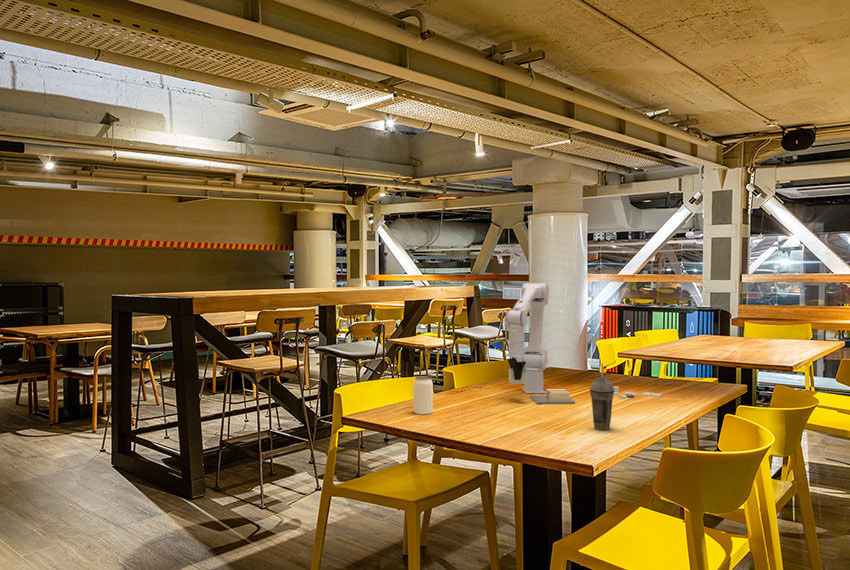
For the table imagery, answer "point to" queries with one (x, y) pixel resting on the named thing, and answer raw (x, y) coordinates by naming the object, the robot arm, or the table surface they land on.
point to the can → (423, 395)
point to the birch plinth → (557, 394)
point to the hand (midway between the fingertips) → (516, 378)
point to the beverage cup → (602, 402)
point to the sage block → (512, 380)
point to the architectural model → (633, 394)
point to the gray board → (544, 400)
